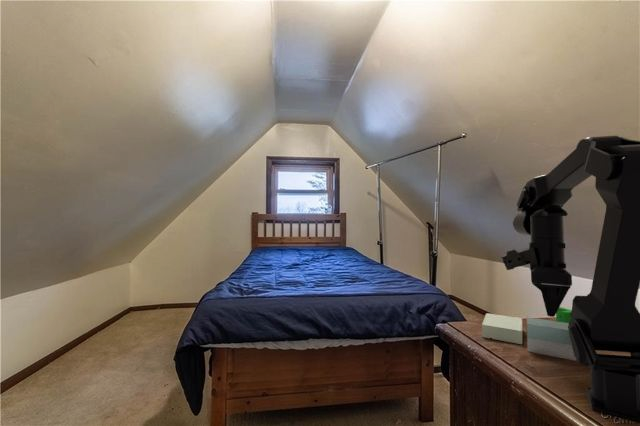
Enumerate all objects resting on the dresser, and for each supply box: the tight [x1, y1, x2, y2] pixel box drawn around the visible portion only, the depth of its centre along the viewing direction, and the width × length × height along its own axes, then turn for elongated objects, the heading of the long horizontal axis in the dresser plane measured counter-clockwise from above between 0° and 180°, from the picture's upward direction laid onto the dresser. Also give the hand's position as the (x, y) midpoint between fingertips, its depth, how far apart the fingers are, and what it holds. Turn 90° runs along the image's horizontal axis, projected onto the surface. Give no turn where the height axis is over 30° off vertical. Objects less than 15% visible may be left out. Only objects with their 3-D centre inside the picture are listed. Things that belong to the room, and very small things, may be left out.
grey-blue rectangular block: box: [526, 317, 577, 362], centre depth 65 cm, size 5×8×6 cm, turn 56°
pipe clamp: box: [555, 306, 572, 323], centre depth 76 cm, size 11×4×5 cm, turn 19°
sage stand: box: [481, 313, 523, 345], centre depth 75 cm, size 10×8×3 cm
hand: (549, 310), depth 65 cm, fingers open, 9 cm apart
